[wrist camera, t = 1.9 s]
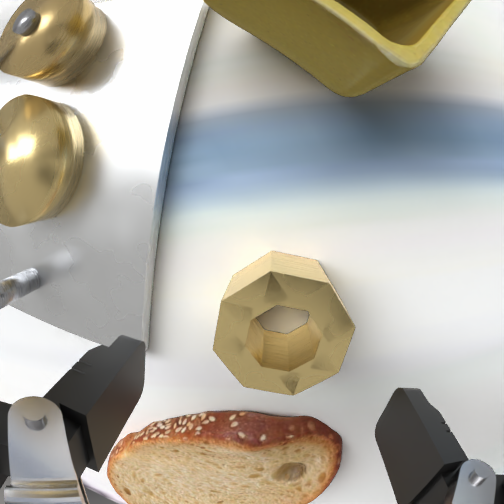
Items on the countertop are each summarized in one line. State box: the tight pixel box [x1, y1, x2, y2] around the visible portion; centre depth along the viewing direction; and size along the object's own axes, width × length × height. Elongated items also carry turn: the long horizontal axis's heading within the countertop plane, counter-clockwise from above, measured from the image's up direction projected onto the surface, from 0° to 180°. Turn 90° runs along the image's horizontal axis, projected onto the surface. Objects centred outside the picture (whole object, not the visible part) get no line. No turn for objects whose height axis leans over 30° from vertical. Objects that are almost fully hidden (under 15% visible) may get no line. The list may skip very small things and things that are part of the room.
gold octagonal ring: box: [213, 251, 355, 395], centre depth 14 cm, size 6×6×4 cm
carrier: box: [0, 0, 209, 352], centre depth 12 cm, size 16×20×6 cm
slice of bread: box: [107, 411, 342, 504], centre depth 18 cm, size 18×18×4 cm
